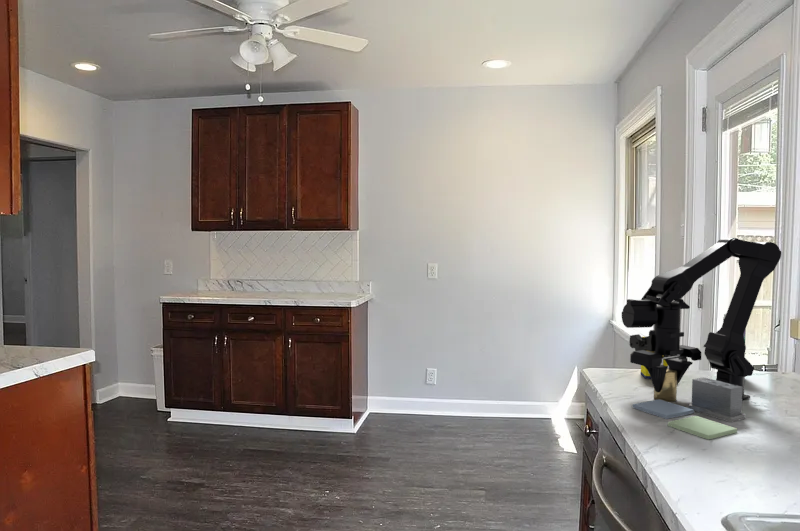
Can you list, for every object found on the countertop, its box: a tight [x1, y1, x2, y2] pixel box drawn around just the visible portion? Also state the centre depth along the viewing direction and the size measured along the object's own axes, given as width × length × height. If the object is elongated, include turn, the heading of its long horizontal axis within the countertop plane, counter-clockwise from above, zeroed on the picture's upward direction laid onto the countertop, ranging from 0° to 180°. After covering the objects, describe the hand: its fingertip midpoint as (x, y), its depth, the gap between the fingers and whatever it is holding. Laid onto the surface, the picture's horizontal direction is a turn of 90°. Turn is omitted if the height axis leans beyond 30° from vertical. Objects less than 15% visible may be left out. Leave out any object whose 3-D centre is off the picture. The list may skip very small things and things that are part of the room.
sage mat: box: [667, 415, 738, 440], centre depth 115 cm, size 9×9×1 cm
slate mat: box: [632, 399, 695, 420], centre depth 128 cm, size 9×9×1 cm
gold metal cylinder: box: [653, 368, 678, 403], centre depth 137 cm, size 5×5×7 cm
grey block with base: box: [687, 377, 746, 423], centre depth 125 cm, size 5×10×7 cm, turn 27°
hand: (665, 390), depth 137 cm, fingers closed on gold metal cylinder, 5 cm apart
